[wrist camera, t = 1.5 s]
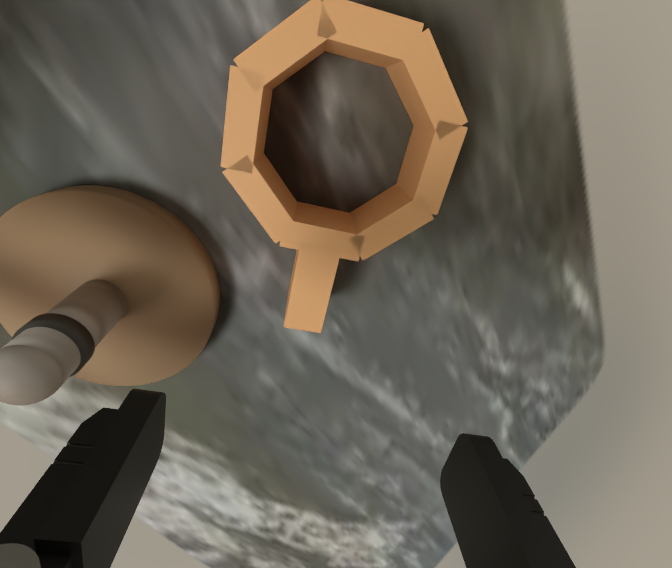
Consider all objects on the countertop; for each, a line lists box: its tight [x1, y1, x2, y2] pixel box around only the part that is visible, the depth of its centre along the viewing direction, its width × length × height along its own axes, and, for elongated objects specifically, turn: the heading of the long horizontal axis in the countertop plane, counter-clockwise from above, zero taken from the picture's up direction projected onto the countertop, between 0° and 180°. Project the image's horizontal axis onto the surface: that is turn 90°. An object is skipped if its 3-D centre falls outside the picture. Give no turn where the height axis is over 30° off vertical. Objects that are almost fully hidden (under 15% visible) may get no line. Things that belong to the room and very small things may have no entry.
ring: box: [221, 0, 468, 333], centre depth 17 cm, size 13×9×4 cm
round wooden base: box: [0, 185, 221, 405], centre depth 17 cm, size 11×11×8 cm
